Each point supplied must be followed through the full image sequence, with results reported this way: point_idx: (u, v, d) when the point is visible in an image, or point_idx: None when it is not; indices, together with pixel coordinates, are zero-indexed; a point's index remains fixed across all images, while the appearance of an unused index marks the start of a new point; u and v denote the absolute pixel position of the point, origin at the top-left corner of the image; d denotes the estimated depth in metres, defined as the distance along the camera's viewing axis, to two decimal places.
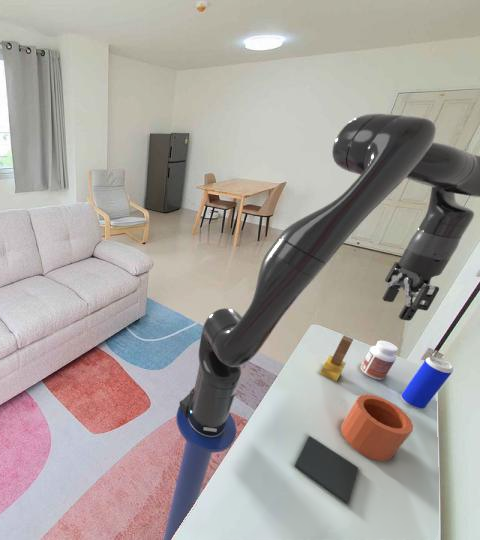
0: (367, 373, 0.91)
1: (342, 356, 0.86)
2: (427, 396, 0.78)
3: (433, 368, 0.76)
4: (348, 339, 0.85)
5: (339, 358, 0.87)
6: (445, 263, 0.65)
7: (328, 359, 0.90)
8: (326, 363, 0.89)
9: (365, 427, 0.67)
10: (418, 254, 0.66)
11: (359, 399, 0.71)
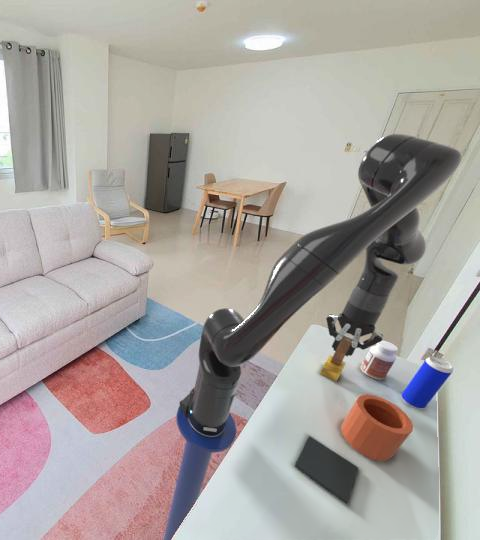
0: (367, 373, 0.91)
1: (342, 356, 0.86)
2: (427, 396, 0.78)
3: (433, 368, 0.76)
4: (348, 339, 0.85)
5: (339, 358, 0.87)
6: None
7: (328, 359, 0.90)
8: (326, 363, 0.89)
9: (365, 427, 0.67)
10: (374, 312, 0.76)
11: (359, 399, 0.71)
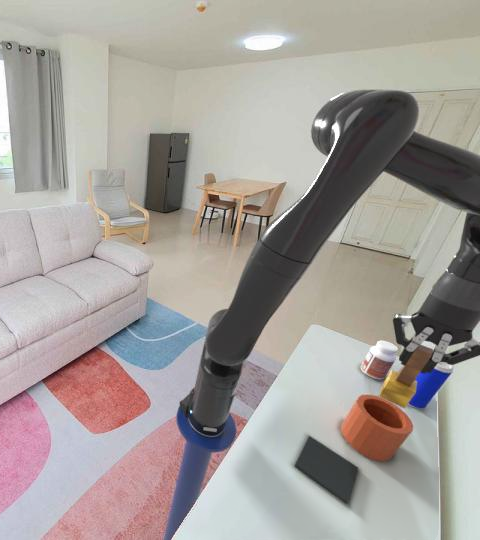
0: (367, 373, 0.91)
1: (415, 373, 0.61)
2: (427, 396, 0.78)
3: None
4: (426, 349, 0.59)
5: (410, 376, 0.61)
6: None
7: (392, 376, 0.64)
8: (390, 382, 0.64)
9: (365, 427, 0.67)
10: (478, 311, 0.51)
11: (359, 399, 0.71)
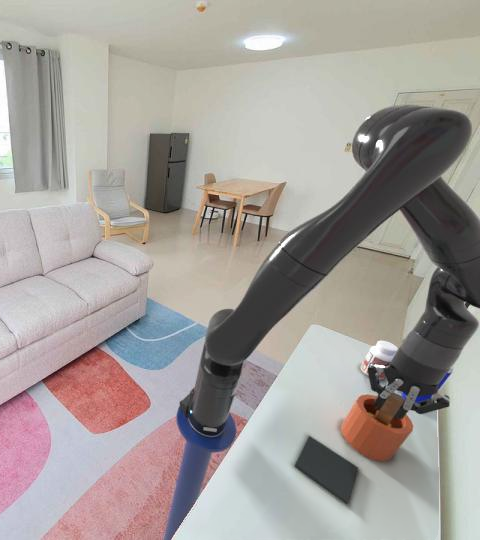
0: (367, 373, 0.91)
1: (388, 418, 0.65)
2: (427, 396, 0.78)
3: None
4: (397, 397, 0.64)
5: (384, 420, 0.66)
6: None
7: None
8: None
9: (365, 427, 0.67)
10: (441, 369, 0.55)
11: (359, 399, 0.71)
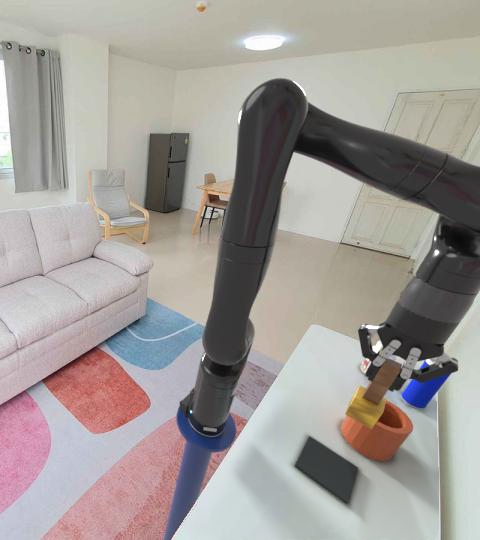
0: None
1: (383, 391, 0.54)
2: (427, 396, 0.78)
3: None
4: (394, 364, 0.52)
5: (378, 393, 0.55)
6: None
7: (358, 393, 0.58)
8: (356, 400, 0.57)
9: (365, 427, 0.67)
10: (448, 323, 0.44)
11: None
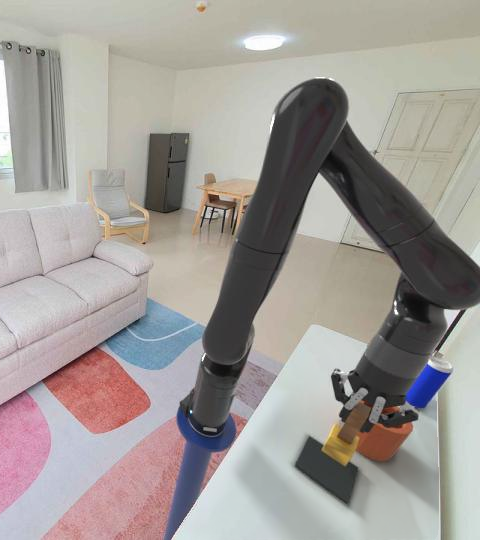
0: None
1: (354, 432, 0.58)
2: (427, 396, 0.78)
3: (433, 368, 0.76)
4: (363, 408, 0.57)
5: (350, 434, 0.59)
6: None
7: (333, 432, 0.62)
8: (331, 438, 0.61)
9: None
10: (407, 378, 0.48)
11: None
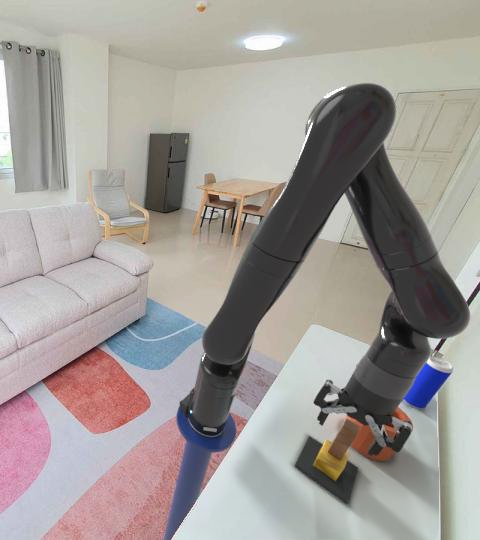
0: None
1: (344, 448, 0.61)
2: (427, 396, 0.78)
3: (433, 368, 0.76)
4: (353, 426, 0.59)
5: (340, 450, 0.61)
6: None
7: (324, 447, 0.64)
8: (322, 454, 0.63)
9: (365, 427, 0.67)
10: (393, 399, 0.50)
11: None
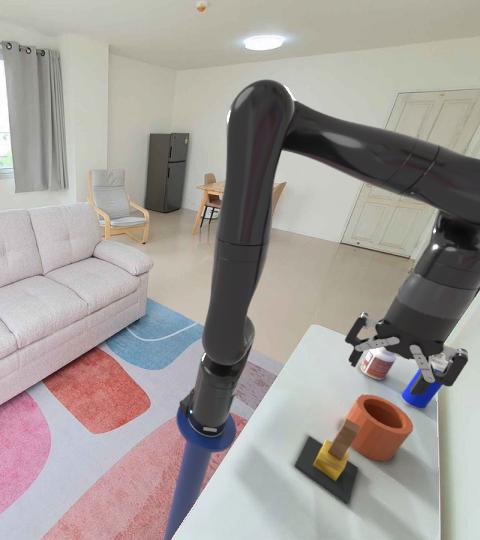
0: (367, 373, 0.91)
1: (344, 448, 0.61)
2: (427, 396, 0.78)
3: None
4: (353, 426, 0.59)
5: (340, 450, 0.61)
6: None
7: (324, 447, 0.64)
8: (322, 454, 0.63)
9: (365, 427, 0.67)
10: (448, 319, 0.43)
11: (359, 399, 0.71)
